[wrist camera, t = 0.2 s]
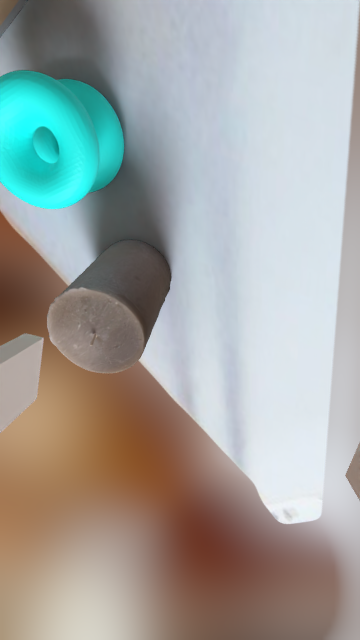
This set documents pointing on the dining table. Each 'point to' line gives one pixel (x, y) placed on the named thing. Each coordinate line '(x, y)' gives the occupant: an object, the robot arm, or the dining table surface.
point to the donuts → (56, 139)
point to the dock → (9, 12)
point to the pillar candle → (111, 308)
